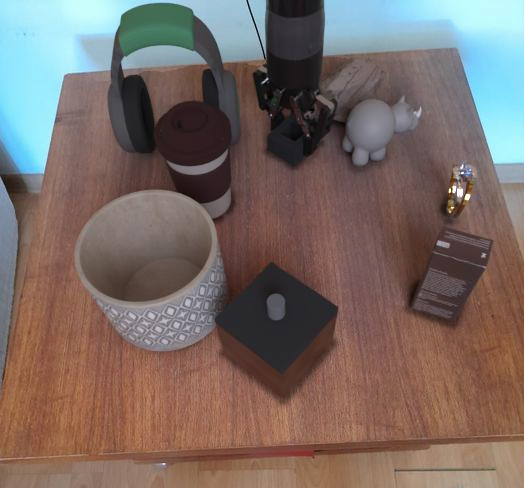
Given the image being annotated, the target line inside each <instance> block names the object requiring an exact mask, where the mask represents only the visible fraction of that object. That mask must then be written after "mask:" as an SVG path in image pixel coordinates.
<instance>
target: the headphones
mask: <svg viewBox="0 0 524 488" xmlns="http://www.w3.org/2000/svg"><path fill="white" fill-rule="evenodd" d="M157 46H158V47H159V46H170V47H177V48H178V47H179V48H182V49H185V50H189V51H191V52H195V53H197V54H198V55H199V56H200V57H201V58H202V59H203V60H204V61H205V63H206V64H207V66H208V67H209V68H205V69H203V71H202V75H201V90H202V91H201V93H202V102H204V103H206V104H209V105H212V106H215V107H217V108H219V109H220V110H221V111H223V112H224V113H225V114H226V116H227V117H228V119H229V121H230V124H231V132H232V139H231V143H230V145H229V146H233V145H236V144H237V143H238V142H239V141H240V139H241V133H242V131H241V130H242V127H241V113H240V111H241V110H240V102H239V91H238V83H237V79H236V76H235V75H234V72H232V71H231V70H228V69H225V68H224V64H223V58H222V55H221V51H220V48H219V44H218V43H217V41H216V38H215V37H214V34H213V33H212V31H211V29H210V28H209V27H208V26H207V25H206V23H205V22H204V21H203V20H201V18H199V17H198V16H197V15H195V13H194V10H193V9H192V8H190V7H188V6H185V5H182V4H178V3H172V2H153V3H152V2H151V3H145V4H141V5H137V6H134V7H132V8H130V9H128V10H126V11H124V13H122V14H121V15H120V20H119V25H118V27H117V29H116V31H115V35H114V38H113V46H112V53H111V62H110V81H111V83H110V84H109V86H108V90H107V109H108V117H109V122H110V126H111V130H112V132H113V136H114V137H115V140H116V142H117V144H118V145H119V146H120V148H121V149H122V150H124V151H125V152H126V153H131V154H135V153H139V154H142V155H146V154H147V155H148V154H152V153H153V152H154V150H155V146H156V143H155V140H154V129H155V126H156V123H155V117H154V110H153V103H152V100H151V96H150V91H149V89H148V86H147V84H146V82H145V79H144V78H143V77H142V75H139V74H129V75H127V76H126V77H125V75H124V70H123V65H122V61H123V59H125V58H127V57H129V56H130V55H131V54H133V53H135V52H137V51H139V50H142V49H145V48H146V49H147V48H150V47H157Z"/></svg>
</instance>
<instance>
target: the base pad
mask: <svg viewBox="0 0 524 488" xmlns="http://www.w3.org/2000/svg"><path fill="white" fill-rule="evenodd" d="M337 313H338V314H339V306H337V305H336V304H335V303H334V302H332V301H330V300H329V299H327V298H325V297H324V296H323V295H322V294H320V293H318V292H317V291H316V290H314V289H313V288H311V287H309V286H308V285H307V284H305V283H304V282H303V281H301V280H299V279H298V278H296V277H295V276H294V275H292V274H291V273H289V272H287V271H286V270H284V269H283V268H282V267H280V266H279V265H277V264H276V263H275V262H273V261H270V262H269V263H268V264H267V265H266V266H265V267H264V268H263V269H262V270H261V271H260V272H259V273H258V274H257V275H256V276H255V277H254V278H252V280H251V281H250V282H249V283H248V284H247V285H246V286H245V287H244V288H243V289H242V290H241V291H240V292H239V293H238V294H237V295H236V296H235V297H234V298H233V299H232V300H231V301H230V302H229V303H227V306H226V307H225V308H224V309H223V310H222V311H221V312H220V313H219V314H218V315H217V316H216V317H215V322H216V324H217V325H219V326H220V327H221V328H222V329H224V330H225V331H226V332H228V333H229V334H230V335H232V336H233V337H234V338H235V339H237V340H238V341H239V342H241V343H242V344H243V345H245V346H246V347H247V348H249V349H250V350H251V351H252V352H254V353H255V354H256V355H258V356H259V357H260V358H262V359H263V360H264V361H266V362H267V363H268V364H269V365H271V366H272V367H273V368H275V369H276V370H277V371H279V372H280V373H281V374H283V373H284V372H285V371H286V370H287V369H288V368H289V366H290V365H291V364H292V363H293V362H294V361H295V360H296V359H297V357H298V356H299V355H300V354H301V353H302V352H303V351H304V350H305V349H306V347H307V346H308V345H309V344H310V343H311V342H312V341H313V340H314V338H315V337H316V336H317V335H318V334H319V333H320V332H321V331H322V329H323V328H324V327H325V326H326V325H327V324H328V323H329V322H330V321H331V319H332V318H333V317H334V316H335V315H336V314H337ZM338 314H337V315H338Z"/></svg>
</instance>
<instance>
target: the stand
mask: <svg viewBox="0 0 524 488" xmlns="http://www.w3.org/2000/svg"><path fill="white" fill-rule="evenodd" d="M338 314H339V312H338V313H337V314H336V315H335V316H334V317H333V318H332V319H331V321H330V322H329V323H328V324H327V325H326V326H325V327H324V328H323V329H322V331H321V332H320V333H319V334H318V335H317V336H316V337H315V338H314V340H313V341H312V342H311V343H310V344H309V345H308V346H307V347H306V349H305V350H304V351H303V352H302V353H301V354H300V355H299V356H298V357H297V359H296V360H295V361H294V362H293V363H292V364H291V365H290V366H289V368H288V369H287V370H286V371H285V372H284V373H283V374H281V373H280V372H279V371H277V370H276V369H275V368H273V367H272V366H271V365H269V364H268V363H267V362H266V361H264V360H263V359H262V358H260V357H259V356H258V355H256V354H255V353H254V352H252V351H251V350H250V349H249V348H247V347H246V346H245V345H243V344H242V343H241V342H239V341H238V340H237V339H235V338H234V337H233V336H232V335H230V334H229V333H228V332H226V331H225V330H224V329H222V328H221V327H220V326H219V325H217V324H216V329H217V332H218V336H219V340H220V343H221V347H222V350H223V353H224V354H225V355H226V356H228V357H229V358H230V359H232V361H234V362H235V363H237V364H238V365H239V366H240V367H242V368H243V369H244V370H246V371H247V373H249V374H251V375H252V376H253V377H254V378H256V379H257V380H258V381H260V382H261V383H262V384H263V385H265V386H266V387H267V388H269V389H270V390H271V391H272V392H273V393H275V394H276V395H277V396H278V397H280V398H282V399H285V398H286V397H287V395H288V394H290V392H291V391H292V390H293V389H294V388H295V386H296V385H297V384H298V383H299V382H300V381H301V379H302V378H303V377H304V376H305V375H306V374H307V373H308V371H309V370H310V369H311V368H312V367H313V366H314V365H315V364H316V362H317V361H318V360H319V359H320V358H321V357H322V355H323V354H324V353H325V352H326V351H327V350H328V348H329V347H330V346H331V345H332V344H333V341H334V334H335V330H336V324H337V318H338Z"/></svg>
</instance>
